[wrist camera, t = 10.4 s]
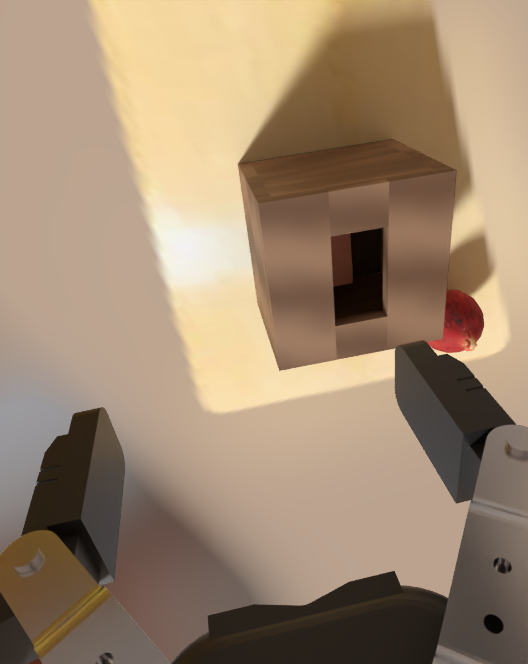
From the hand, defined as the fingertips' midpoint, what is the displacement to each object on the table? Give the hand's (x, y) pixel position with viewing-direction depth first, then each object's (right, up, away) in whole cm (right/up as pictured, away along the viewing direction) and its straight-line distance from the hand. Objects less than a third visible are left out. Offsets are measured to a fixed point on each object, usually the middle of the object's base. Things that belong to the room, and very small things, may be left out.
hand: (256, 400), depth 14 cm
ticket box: (+5, +11, +31) cm, 33 cm away
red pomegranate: (+17, +5, +37) cm, 41 cm away
